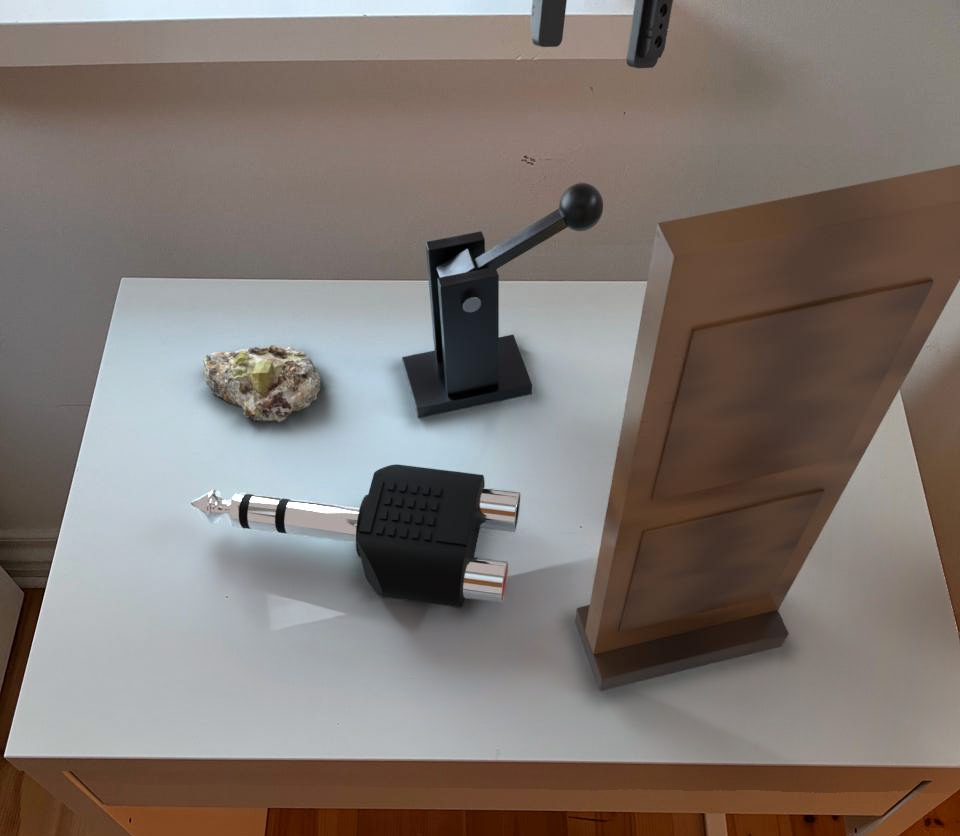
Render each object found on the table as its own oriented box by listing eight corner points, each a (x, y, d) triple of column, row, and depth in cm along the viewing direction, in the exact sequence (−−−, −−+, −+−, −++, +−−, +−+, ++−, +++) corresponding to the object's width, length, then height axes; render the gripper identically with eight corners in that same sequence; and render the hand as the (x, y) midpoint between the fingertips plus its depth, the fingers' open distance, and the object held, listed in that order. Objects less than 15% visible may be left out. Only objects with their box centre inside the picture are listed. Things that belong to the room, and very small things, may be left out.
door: (750, 578, 70) (961, 128, 38) (782, 646, 68) (1036, 223, 36) (574, 620, 69) (640, 189, 37) (599, 691, 66) (693, 293, 34)
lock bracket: (513, 344, 82) (515, 219, 70) (532, 394, 79) (537, 272, 68) (402, 366, 81) (387, 243, 69) (417, 418, 78) (404, 299, 67)
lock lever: (601, 197, 69) (587, 164, 66) (614, 225, 68) (600, 193, 65) (451, 286, 73) (431, 259, 70) (460, 314, 71) (441, 288, 68)
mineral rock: (336, 340, 79) (298, 388, 74) (341, 385, 82) (304, 435, 77) (222, 320, 81) (176, 366, 76) (230, 365, 84) (187, 412, 79)
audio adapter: (500, 589, 64) (156, 543, 66) (500, 625, 69) (179, 581, 71) (523, 464, 69) (202, 425, 71) (521, 506, 74) (220, 468, 76)
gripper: (787, -289, 48) (714, 73, 58) (590, -279, 56) (556, 38, 66) (696, -317, 44) (634, 78, 54) (498, -302, 52) (476, 40, 62)
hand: (591, 56), depth 60 cm, fingers open, 8 cm apart
